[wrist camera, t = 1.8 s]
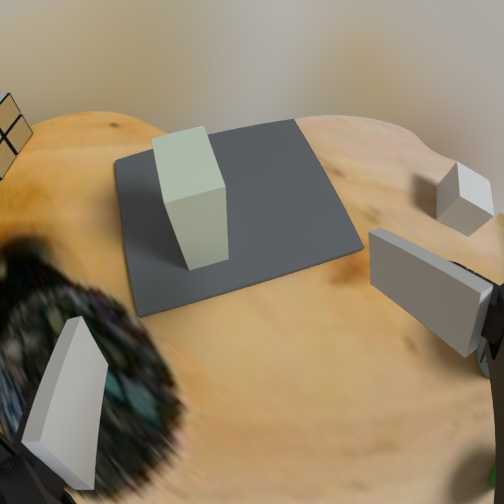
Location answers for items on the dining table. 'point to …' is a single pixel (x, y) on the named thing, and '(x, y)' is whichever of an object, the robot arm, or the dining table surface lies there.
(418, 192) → the dining table surface
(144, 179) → the mat
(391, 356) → the dining table surface
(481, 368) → the blue-grey tumbler
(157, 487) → the dining table surface
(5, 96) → the puzzle cube
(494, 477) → the cup
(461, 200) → the small light-grey cube
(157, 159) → the sage block
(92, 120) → the dining table surface
